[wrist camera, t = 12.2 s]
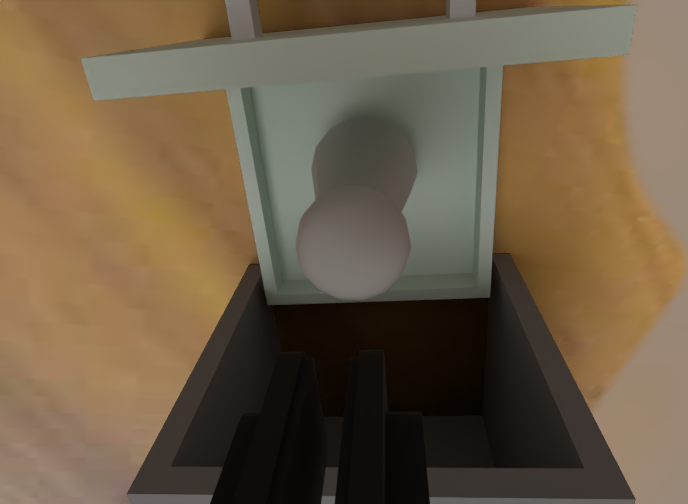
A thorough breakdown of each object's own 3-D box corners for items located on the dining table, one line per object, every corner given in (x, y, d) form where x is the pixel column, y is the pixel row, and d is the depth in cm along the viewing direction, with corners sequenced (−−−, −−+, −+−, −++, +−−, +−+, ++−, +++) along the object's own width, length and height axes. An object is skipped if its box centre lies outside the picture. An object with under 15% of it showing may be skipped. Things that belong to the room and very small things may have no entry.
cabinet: (249, 264, 34) (126, 493, 18) (509, 253, 32) (635, 499, 16) (282, 427, 41) (216, 695, 25) (496, 426, 39) (574, 716, 23)
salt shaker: (432, 138, 27) (467, 230, 16) (385, 218, 30) (386, 349, 18) (342, 90, 27) (309, 152, 15) (301, 177, 29) (247, 287, 18)
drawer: (183, -45, 25) (34, -86, 14) (536, -88, 23) (666, -171, 12) (251, 284, 34) (191, 409, 23) (509, 274, 32) (570, 405, 21)
